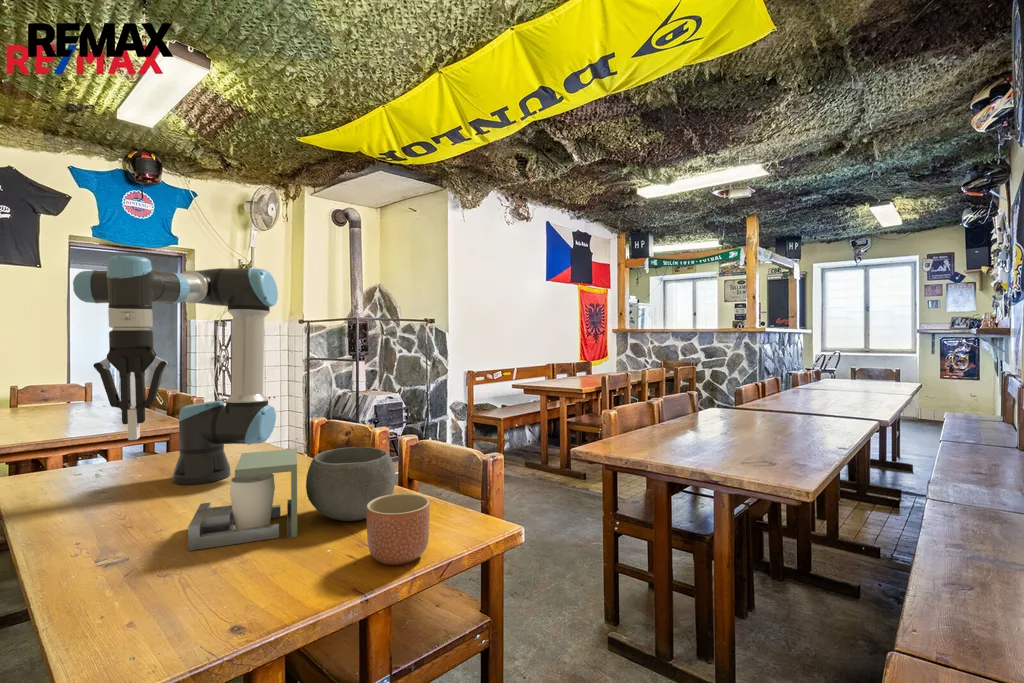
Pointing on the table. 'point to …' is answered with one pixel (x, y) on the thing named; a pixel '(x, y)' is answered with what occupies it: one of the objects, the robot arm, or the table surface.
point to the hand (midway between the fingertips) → (134, 438)
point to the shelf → (274, 464)
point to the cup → (252, 500)
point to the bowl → (349, 481)
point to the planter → (398, 527)
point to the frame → (225, 528)
